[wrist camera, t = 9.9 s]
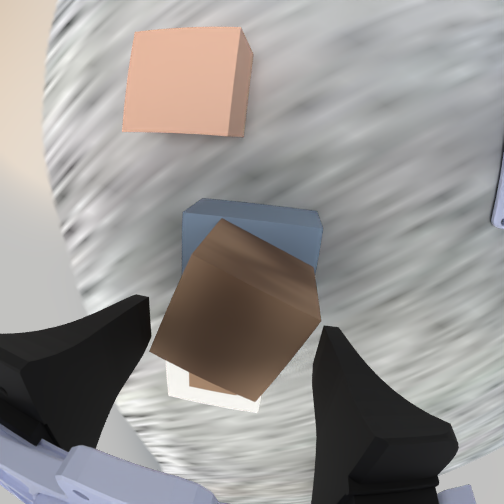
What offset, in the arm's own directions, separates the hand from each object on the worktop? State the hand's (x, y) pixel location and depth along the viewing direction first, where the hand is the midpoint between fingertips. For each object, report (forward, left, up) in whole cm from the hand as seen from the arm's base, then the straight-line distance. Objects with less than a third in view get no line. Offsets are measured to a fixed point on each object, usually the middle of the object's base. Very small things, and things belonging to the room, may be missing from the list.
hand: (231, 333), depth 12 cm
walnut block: (0, 0, -5) cm, 5 cm away
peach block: (+4, -10, -8) cm, 14 cm away
